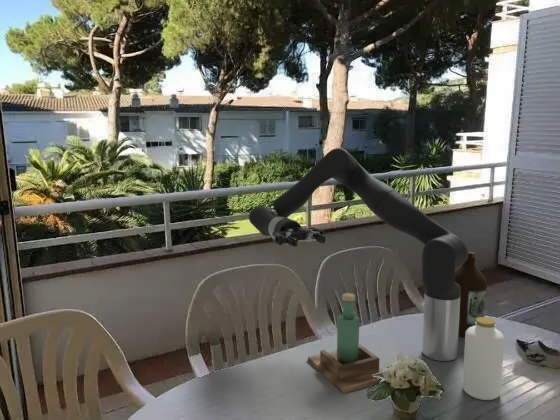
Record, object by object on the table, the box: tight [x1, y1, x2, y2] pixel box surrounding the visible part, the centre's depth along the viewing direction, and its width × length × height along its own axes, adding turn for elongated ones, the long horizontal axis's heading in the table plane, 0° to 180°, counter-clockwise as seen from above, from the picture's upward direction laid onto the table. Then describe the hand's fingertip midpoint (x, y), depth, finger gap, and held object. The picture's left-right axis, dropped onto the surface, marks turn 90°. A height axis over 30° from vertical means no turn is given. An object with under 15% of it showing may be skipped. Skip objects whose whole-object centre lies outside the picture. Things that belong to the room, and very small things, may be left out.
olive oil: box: [455, 250, 488, 338], centre depth 143 cm, size 11×11×25 cm
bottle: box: [336, 292, 360, 365], centre depth 121 cm, size 6×6×19 cm
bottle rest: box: [307, 343, 384, 394], centre depth 122 cm, size 18×14×4 cm
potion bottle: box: [462, 316, 505, 401], centre depth 110 cm, size 8×8×18 cm
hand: (310, 241), depth 128 cm, fingers open, 8 cm apart
